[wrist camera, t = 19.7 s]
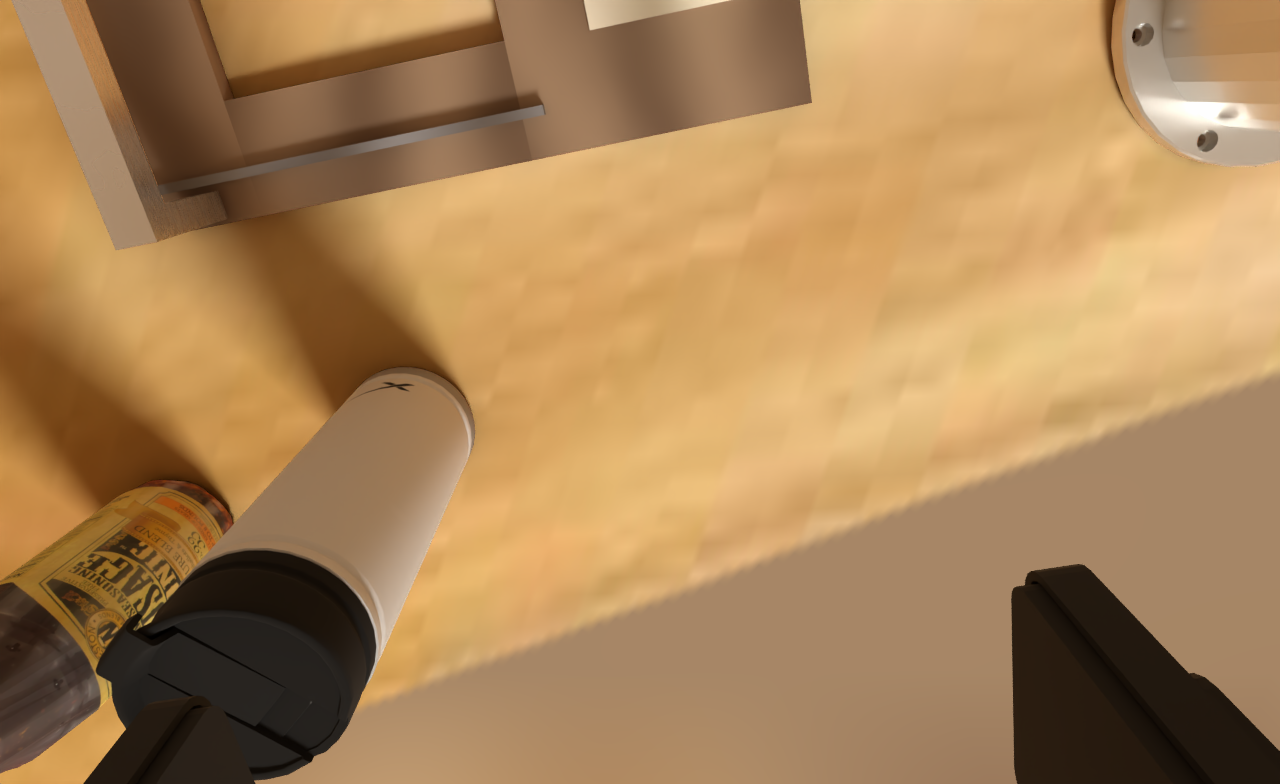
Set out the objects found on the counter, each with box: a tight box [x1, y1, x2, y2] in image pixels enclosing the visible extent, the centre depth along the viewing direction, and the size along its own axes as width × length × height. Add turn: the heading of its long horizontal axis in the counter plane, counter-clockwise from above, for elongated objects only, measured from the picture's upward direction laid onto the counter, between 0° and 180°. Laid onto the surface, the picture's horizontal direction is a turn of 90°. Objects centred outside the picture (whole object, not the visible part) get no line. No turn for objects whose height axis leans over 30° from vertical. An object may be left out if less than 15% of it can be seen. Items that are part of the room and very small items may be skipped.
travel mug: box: [96, 367, 475, 780], centre depth 31 cm, size 6×7×20 cm
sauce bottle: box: [0, 480, 234, 773], centre depth 33 cm, size 7×6×20 cm
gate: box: [12, 0, 228, 250], centre depth 31 cm, size 2×16×6 cm, turn 11°
